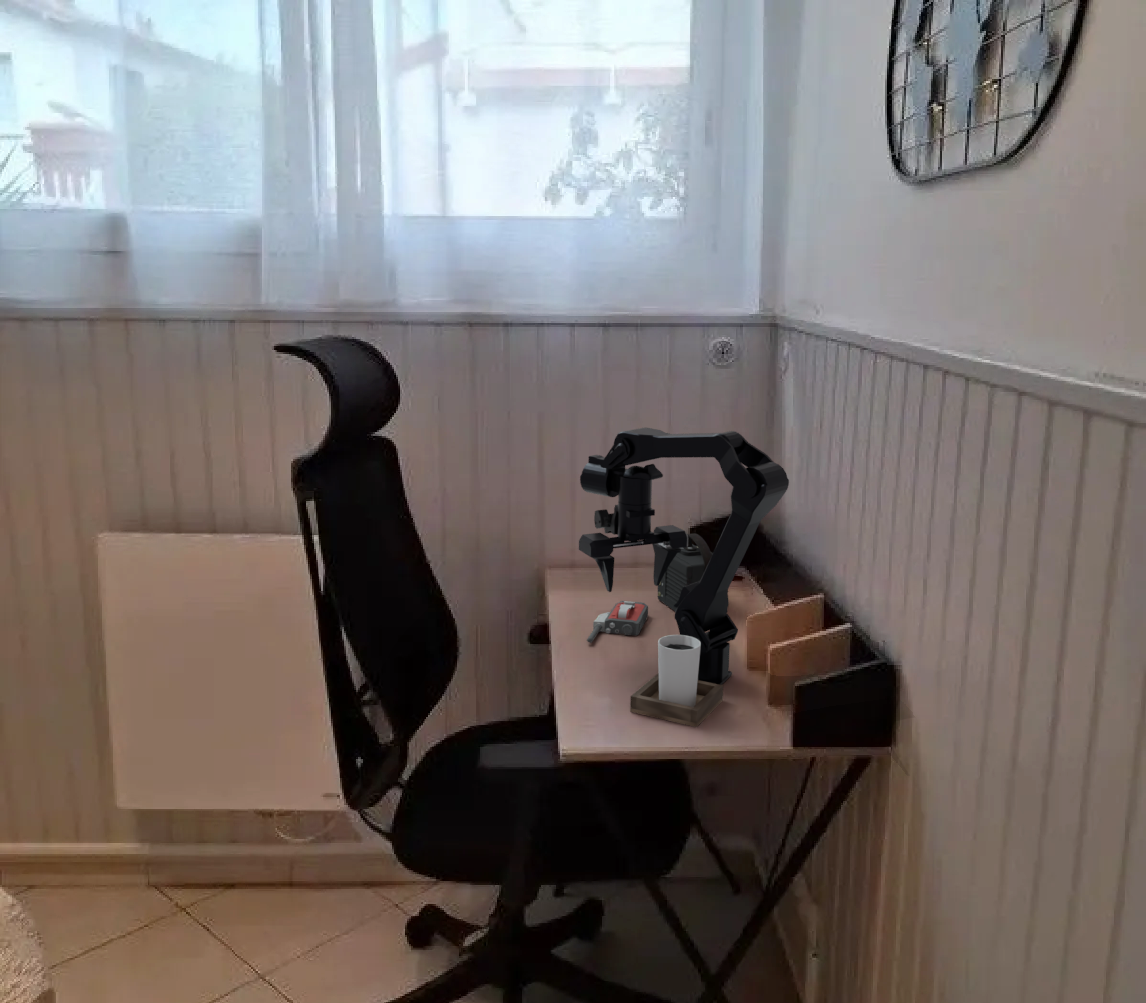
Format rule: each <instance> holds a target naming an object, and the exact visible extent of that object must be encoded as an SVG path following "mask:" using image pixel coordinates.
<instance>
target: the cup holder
mask: <svg viewBox="0 0 1146 1003" xmlns="http://www.w3.org/2000/svg"><path fill="white" fill-rule="evenodd" d="M723 697H724V685H723V684H722V685H719V684H714V683H709V682H705V681H700V680H698V681H697V693H696V705H695V706H694V707H690V706H686V705H681V704H677V703H672V702H668V701H663V700H659V672H658V673H657V674H655V675H654V676H653V677H652V678H651V679H650V680H648V681H647V682H646V683H645V684H643V685H642V686H641V687H640V688H638V689H637V690H636V691H635V692H634V693H632V694H631V695H630V699H629V700H630V703H629V704H630V706H629V708H630V709H629V710H630V713H635V714H639V715H644V716H646V717H650V718H651V717H652V718H655V719H660V720H665V721H668V722H669V721H670V722H673V723H678V724H680V725H685V724H686V725H685V726H691V727H694V728H698V726H699V725H700V724H701V723H702V722H703V721H704V720H705V719H706V718H707V717H708V716H709V715H710V714H711V713H712V712H713V711H714V710H716V708H717V707H718V706H719V705H720V704H721V703H723V701H724V700H723Z"/></svg>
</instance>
